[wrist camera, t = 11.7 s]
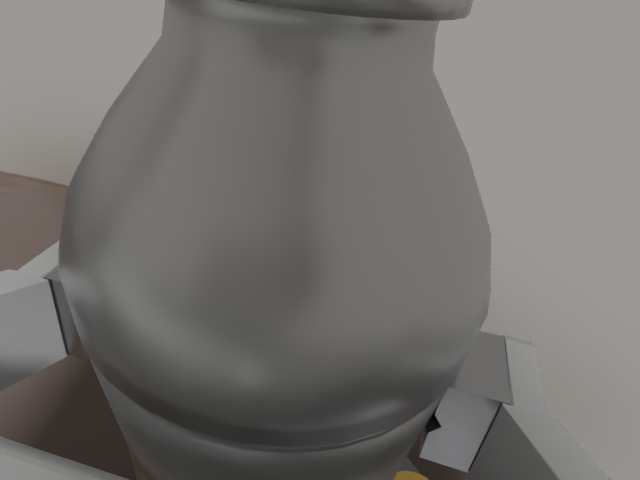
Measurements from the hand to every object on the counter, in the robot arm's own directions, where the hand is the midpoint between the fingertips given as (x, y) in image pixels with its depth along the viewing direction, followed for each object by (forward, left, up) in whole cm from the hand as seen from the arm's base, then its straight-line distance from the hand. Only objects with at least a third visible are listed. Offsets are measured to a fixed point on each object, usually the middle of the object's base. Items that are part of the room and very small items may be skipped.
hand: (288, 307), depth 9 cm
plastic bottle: (+1, -1, -13) cm, 13 cm away
